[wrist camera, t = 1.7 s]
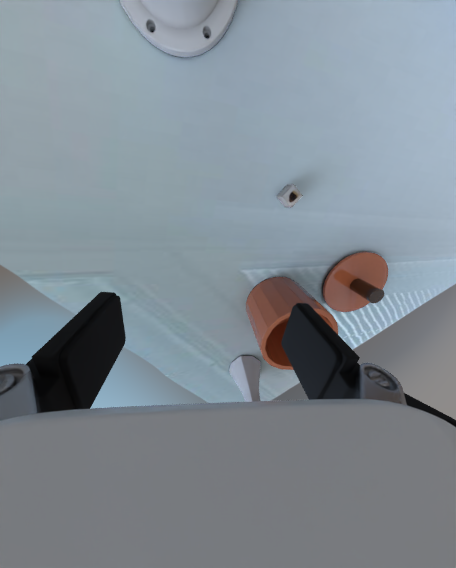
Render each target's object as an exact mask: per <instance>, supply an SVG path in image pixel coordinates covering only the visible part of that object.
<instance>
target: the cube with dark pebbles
mask: <svg viewBox="0 0 456 568" xmlns="http://www.w3.org/2000/svg"><path fill="white" fill-rule="evenodd" d="M302 196H303V195H302V194H301V193H300V192H299V190H298V189H297V188H296V186H295V185H294V184H290V185H287V186H286V187H285V188H284V189H283V190H282V191H281V192H280V193H279V194H278V195H277V198H278V199H279V200H280V201H281V203H282V204H283V205H284V206H285V207H289V208H292V207H293V206H294V205H295V204H296V203H297V202H298V200H299V199H300V198H301V197H302Z"/></svg>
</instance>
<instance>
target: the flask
mask: <svg viewBox="0 0 456 568" xmlns="http://www.w3.org/2000/svg"><path fill="white" fill-rule="evenodd" d="M260 367H261V362H260V361H259V360H257V359H256V358H255V357H253V356H240V357H238V358H237V359H236V360H235V361H233V362H232V363H231V366H230V370H229V372H230V374H231V376H232V377H233V379H234V380H235V382H236V384H237V385H238V387H239V389H240V390H241V392H242V394H243V396H244V399H245V401H246V402H253V401H260V396H259V378H260Z"/></svg>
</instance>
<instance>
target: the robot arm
mask: <svg viewBox="0 0 456 568" xmlns="http://www.w3.org/2000/svg"><path fill="white" fill-rule="evenodd" d="M119 1H120V3H121V5H122V7H123V8H124V10H125V12H126V13H127V15H128V17H129V18H130V20H131V22H132V23H133V24H134V25H135V27H136V28H137V29H138V30H139V32H140V33H141V34H142V35H143V36H144V37H145V38H146V39H147V40H148V41H149V42H150V43H152V44H153V45H154V46H156V47H157V48H159V49H160V50H162V51H163V52H165V53H168V54H171V55H174V56H177V57H193V56H198V55H200V54H203V53H205V52H207V51H209V50H210V49H211V48H212V47H213V46H215V45H216V44H217V43H218V42H219V40H220V39H221V38H222V36H223V35H224V34H225V33H226V31H227V29H228V27H229V25H230V23H231V21H232V19H233V16H234V13H235V9H236V6H237V3H238V0H119ZM152 30H154V32H152V33H151V31H152ZM205 36H208V37H209V38H208V39H206V38H205ZM124 344H125V330H124V323H123V316H122V309H121V302H120V297H119V296H116V294H115V293H110V292H100V293H99V294H98V295H97V296H96V297H95V298H94V299H93V300H92V301H91V302H90V303H88V304H87V305H86V306H85V307H84V308H83V309H82V310H81V311H80V312H79V313H78V314H77V315H76V316H75V317H74V318H73V319H72V320H70V321H69V322H68V323H67V324H66V325H65V326H64V327H63V328H62V329H61V330H60V331H59V332H58V333H57V334H56V335H54V336H53V337H52V338H51V340H49V341H48V342H47V343H46V344H45V345H44V346H43V347H42V348H41V349H40V350H39V351H37V352H36V353H35V354H34V355H33V356H32V359H31V360H30V361H29V362H28V363H27V364H26V365H24V364H9V365H4V366H1V367H0V568H456V420H454V419H453V418H451V417H449V416H447V415H445V414H443V413H441V412H439V411H438V410H436V409H434V408H432V407H430V406H428V405H426V404H424V403H422V402H420V401H418V400H416V399H414V398H413V397H410V396H409V395H407V394H405V393H404V392H403V389H402V386H401V384H400V382H399V381H398V380H397V379H396V378H395V377H394V376H393V375H392V374H391V373H389V372H388V371H386V370H385V369H383V368H381V367H380V366H377V365H375V364H372V363H363V364H361V365H359V364H358V363H357V362H358V360H359V356H358V355H357V354H356V353H355V352H354V351H353V350H352V349H351V348H350V347H349V346H348V345H347V344H346V343H345V342H344V341H343V340H342V339H341V337H340V336H339V335H338V334H337V333H336V332H335V331H334V330H333V329H332V328H331V327H330V326H329V325H328V324H327V323H326V322H325V321H324V320H323V319H322V317H321V316H320V315H319V314H318V313H317V312H316V311H315V310H314V309H313V308H312V307H311V306H310V305H309V304H308V303H297V304H296V305H294V306H293V308H292V311H291V314H290V317H289V320H288V323H287V326H286V329H285V332H284V335H283V338H282V341H281V344H282V347H283V349H284V351H285V353H286V355H287V357H288V359H289V361H290V363H291V365H292V367H293V369H294V371H295V373H296V375H297V377H298V379H299V381H300V383H301V385H302V387H303V388H304V391H305V392H306V394H307V396H308V398H309V400H282V401H253V402H226V403H200V404H176V405H155V406H154V405H153V406H131V407H111V408H95V409H90V407H91V406H92V404H93V402H94V400H95V398H96V396H97V395H98V392H99V391H100V389H101V387H102V385H103V383H104V382H105V380H106V378H107V376H108V374H109V372H110V370H111V368H112V366H113V365H114V363H115V361H116V359H117V357H118V355H119V353H120V351H121V350H122V348H123V346H124Z"/></svg>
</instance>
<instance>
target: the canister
mask: <svg viewBox="0 0 456 568" xmlns="http://www.w3.org/2000/svg"><path fill="white" fill-rule="evenodd" d="M297 303H308V304H309V305H310V306H311V307H312V308H313V309H314V310H315V311H316V312H317V313H318V314H319V315H320V316H321V317H322V319H323V320H324V321H325V322H326V323H327V324H328V325H329V326H330V327H331V328H332V329H333V330H334V331H335V332H336V333H337V334H338V326H337V322H336V320H335V319H334V317H333V316H332V315H331V314H330V313H329V312H328V311H327V310H326V309H325V308H324V307H323V306H322V305H321V304H320V303H319V302H317V301H316V300H315V299H314V298H313V297H312V296H311V295H310V294H309V293H308V292H307V291H306V290H305V289H304V288H302V287H301V286H300V285H299V284H298V283H297V282H295V281H294V280H292V279H290V278H287V277H273V278H269V279H266V280H264V281H262V282H261V283H259V284H258V285H257V286H256V287H255V288H253V290H252V291H251V292H250V294H249V296H248V298H247V302H246V311H247V314H248V317H249V320H250V322H251V325H252V328H253V331H254V333H255V336H256V339H257V342H258V344H259V347H260V350H261V353H262V355H263V358H264V360H266V361H267V362H268V363H269V364H270V365H271V366H274V367H276V368H279V369H289V370H294V369H293V367H292V365H291V363H290V361H289V359H288V357H287V355H286V353H285V351H284V349H283V347H282V344H281V341H282V338H283V335H284V332H285V329H286V326H287V323H288V320H289V317H290V314H291V311H292V308H293V306H294V305H296V304H297Z"/></svg>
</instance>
